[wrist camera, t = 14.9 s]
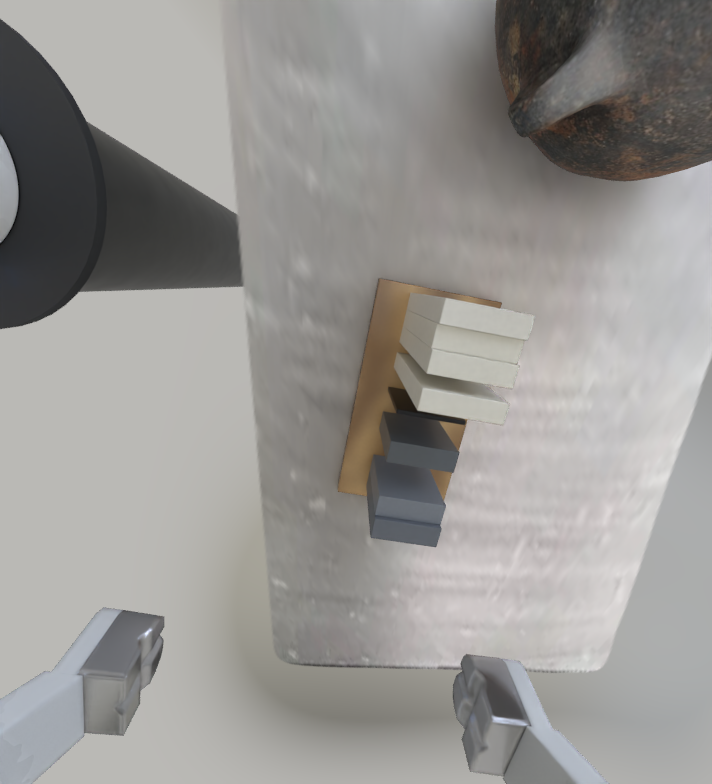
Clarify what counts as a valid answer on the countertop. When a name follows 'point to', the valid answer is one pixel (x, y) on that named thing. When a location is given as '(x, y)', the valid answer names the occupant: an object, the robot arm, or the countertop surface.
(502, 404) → the thin cream book
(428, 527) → the grey books
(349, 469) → the book board
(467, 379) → the cream books
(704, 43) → the jug
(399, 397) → the thin black tile
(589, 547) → the countertop surface
